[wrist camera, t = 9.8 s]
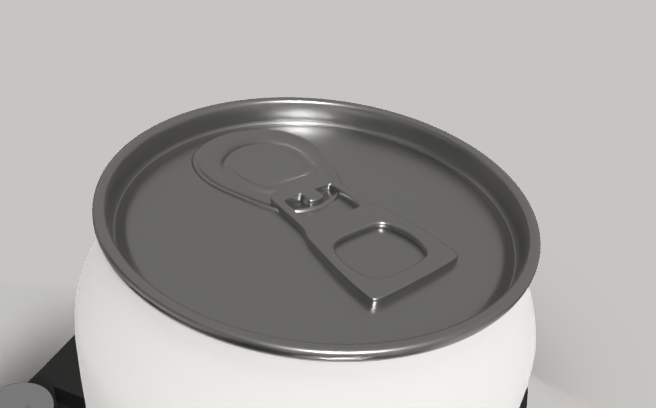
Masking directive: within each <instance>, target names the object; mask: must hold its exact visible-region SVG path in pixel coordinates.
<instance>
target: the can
mask: <svg viewBox="0 0 656 408" xmlns="http://www.w3.org/2000/svg"><path fill="white" fill-rule="evenodd" d="M92 214H93V225H94V230H95V234H96V239H95V241H94V243H93V245H92V247H91V249H90V251H89V254H88V256H87V259H86V261H85V264H84V266H83V269H82V272H81V276H80V279H79V282H78V287H77V291H76V297H75V312H74V317H75V340H76V347H77V354H78V361H79V369H80V376H81V382H82V387H83V393H84V398H85V404H86V408H519V407H520V404H521V402H522V399H523V397H524V394H525V391H526V388H527V385H528V381H529V378H530V374H531V369H532V366H533V362H534V356H535V347H536V327H535V315H534V309H533V303H532V298H531V293H530V288H529V285H530V283H531V281H532V279H533V277H534V275H535V272H536V269H537V266H538V262H539V257H540V233H539V228H538V223H537V220H536V217H535V215H534V212H533V210H532V208H531V206H530V204H529V202H528V200H527V199H526V197H525V195H524V194H523V192H522V191H521V190H520V188H519V187H518V186H517V184H516V183H515V182H514V181H513V180H512V179H511V178H510V177H509V176H508V175H507V174H506V173H505V172H504V171H503V170H502V169H501V168H500V167H499V166H498V165H497V164H496V163H494V162H493V161H492V160H491V159H489V158H488V157H486V156H485V155H484V154H483V153H481V152H480V151H478V150H477V149H475V148H474V147H472V146H471V145H469V144H467V143H466V142H464V141H462V140H460V139H459V138H457V137H455V136H453V135H451V134H449V133H447V132H445V131H443V130H440V129H438V128H436V127H434V126H431V125H429V124H426V123H424V122H421V121H419V120H416V119H413V118H410V117H407V116H404V115H401V114H397V113H394V112H391V111H387V110H383V109H379V108H374V107H371V106H366V105H361V104H355V103H350V102H343V101H336V100H326V99H315V98H293V97H278V98H258V99H248V100H240V101H233V102H226V103H221V104H217V105H211V106H207V107H203V108H199V109H196V110H193V111H189V112H186V113H183V114H180V115H178V116H175V117H173V118H170V119H168V120H166V121H163V122H161V123H159V124H157V125H155V126H153V127H151V128H150V129H148V130H146V131H145V132H143V133H141V134H140V135H138V136H137V137H135V138H134V139H133V140H131V141H130V142H129V143H128V144H126V145H125V146H124V147H123V148H122V149H121V150H120V151H119V152H118V153H117V154H116V155H115V156H114V157H113V159H112V160H111V161H110V162H109V164H108V165H107V167H106V168H105V170H104V171H103V173H102V175H101V177H100V179H99V181H98V184H97V187H96V190H95V194H94V199H93V208H92Z"/></svg>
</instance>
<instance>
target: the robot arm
mask: <svg viewBox="0 0 656 408" xmlns="http://www.w3.org/2000/svg"><path fill="white" fill-rule="evenodd" d="M527 394H528V388H526V391H525V394H524V397H523V399H522V402H521V404H520V407H519V408H526V407H527ZM0 408H86V404H85V398H84V393H83V387H82V382H81V376H80V369H79V361H78V354H77V347H76V340H75V335H74V336H73V337H72V338H71V339H70V340H69V341H68V342H67V343H66V344H65V345H64V346H63V347H62V349H61V350H60V351H59V352H58V353H57V354H56V355H55V356H54V357H53V358H52V359H51V360H50V361H49V362H48V363H47V364H46V365H45V366H44V367H43V368H42V369H41V370H40V371H39V372H38V373H37V374H36V375H35V376H34V377H33V378H32V379H31V380H30V381H29V382H27V383H15V384H10V385H7V386H4V387H1V388H0Z"/></svg>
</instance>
